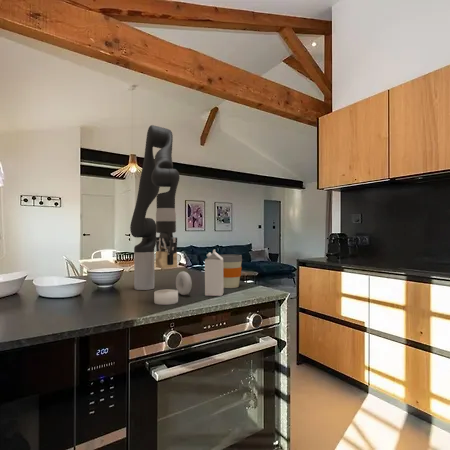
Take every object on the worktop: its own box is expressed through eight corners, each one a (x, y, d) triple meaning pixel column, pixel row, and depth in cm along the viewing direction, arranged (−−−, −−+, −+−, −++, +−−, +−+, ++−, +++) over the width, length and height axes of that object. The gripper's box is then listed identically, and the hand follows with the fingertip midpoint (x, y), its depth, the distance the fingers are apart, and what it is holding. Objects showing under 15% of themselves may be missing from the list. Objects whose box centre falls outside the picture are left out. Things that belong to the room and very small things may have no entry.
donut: (193, 296, 141) (193, 272, 141) (186, 297, 139) (186, 272, 139) (181, 292, 149) (180, 269, 149) (174, 293, 147) (173, 270, 147)
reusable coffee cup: (214, 288, 159) (214, 256, 159) (219, 284, 171) (218, 254, 172) (240, 288, 157) (240, 256, 157) (243, 284, 169) (243, 254, 170)
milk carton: (223, 292, 148) (223, 249, 148) (221, 296, 141) (221, 250, 141) (207, 292, 148) (207, 249, 149) (204, 296, 141) (204, 250, 142)
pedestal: (150, 301, 131) (150, 291, 131) (171, 298, 136) (171, 288, 136) (160, 305, 124) (160, 294, 124) (182, 302, 129) (182, 291, 129)
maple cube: (155, 267, 131) (155, 251, 131) (169, 265, 135) (169, 250, 135) (162, 268, 126) (162, 252, 126) (177, 267, 130) (176, 251, 130)
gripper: (183, 220, 127) (184, 265, 127) (166, 220, 139) (166, 262, 138) (165, 219, 123) (165, 266, 122) (149, 220, 134) (149, 263, 134)
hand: (166, 264), depth 130 cm, fingers closed on maple cube, 6 cm apart
